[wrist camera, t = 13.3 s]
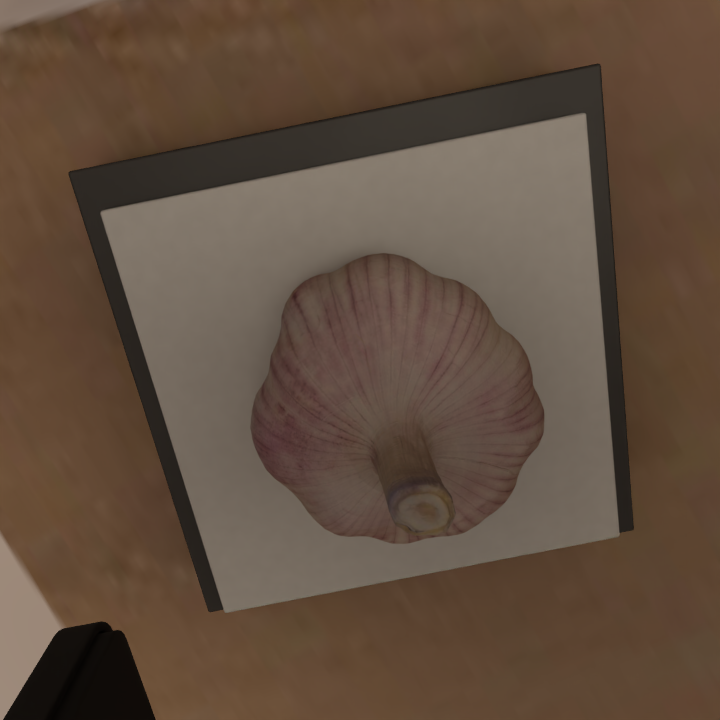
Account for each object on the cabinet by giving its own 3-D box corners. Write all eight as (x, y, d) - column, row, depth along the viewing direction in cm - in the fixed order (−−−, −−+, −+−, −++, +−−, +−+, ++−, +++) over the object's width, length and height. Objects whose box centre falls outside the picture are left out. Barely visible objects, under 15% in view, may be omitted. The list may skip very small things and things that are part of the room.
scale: (568, 73, 19) (611, 59, 16) (604, 493, 23) (643, 541, 20) (98, 169, 19) (57, 172, 16) (219, 568, 23) (204, 626, 20)
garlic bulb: (262, 237, 17) (207, 306, 9) (538, 249, 17) (703, 325, 10) (260, 495, 19) (215, 722, 12) (505, 501, 20) (617, 723, 12)
